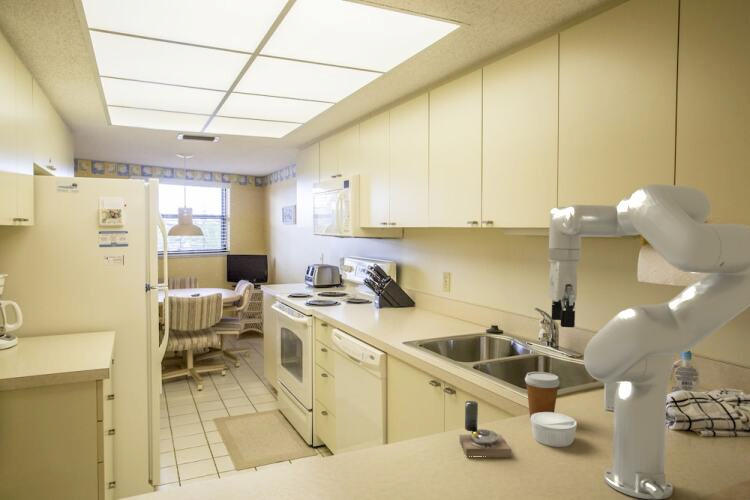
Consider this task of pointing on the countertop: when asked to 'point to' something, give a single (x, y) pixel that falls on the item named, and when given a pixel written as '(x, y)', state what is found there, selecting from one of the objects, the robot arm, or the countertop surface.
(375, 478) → the countertop surface
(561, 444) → the ramekin
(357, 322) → the countertop surface
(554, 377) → the disposable coffee cup
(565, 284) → the robot arm
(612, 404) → the skincare box
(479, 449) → the level stand
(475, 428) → the capstan dial
